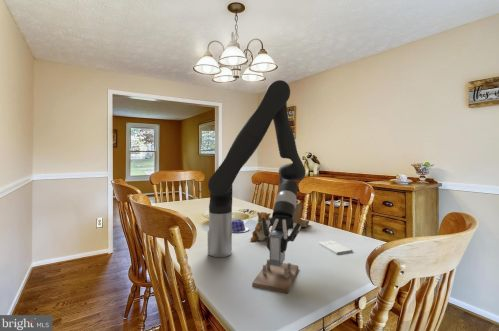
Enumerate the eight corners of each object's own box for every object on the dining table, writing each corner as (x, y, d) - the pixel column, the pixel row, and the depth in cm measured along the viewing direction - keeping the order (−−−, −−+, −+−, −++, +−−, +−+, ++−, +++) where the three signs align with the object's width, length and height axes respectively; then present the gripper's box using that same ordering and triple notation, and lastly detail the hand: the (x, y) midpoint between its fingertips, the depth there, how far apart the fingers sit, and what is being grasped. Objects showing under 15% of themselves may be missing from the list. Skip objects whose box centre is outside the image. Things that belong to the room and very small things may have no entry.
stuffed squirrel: (249, 242, 115) (249, 214, 115) (255, 232, 129) (255, 207, 129) (271, 244, 113) (271, 215, 113) (274, 234, 127) (275, 208, 126)
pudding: (240, 225, 143) (240, 216, 142) (253, 231, 133) (253, 221, 133) (222, 229, 136) (222, 219, 135) (234, 235, 126) (234, 225, 126)
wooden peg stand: (268, 263, 93) (268, 252, 93) (298, 268, 89) (298, 257, 89) (252, 286, 77) (252, 272, 77) (287, 293, 73) (287, 279, 73)
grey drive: (274, 257, 87) (274, 228, 86) (284, 259, 85) (285, 230, 85) (269, 264, 81) (269, 234, 80) (280, 266, 80) (280, 235, 79)
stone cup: (280, 228, 137) (280, 201, 136) (282, 222, 148) (283, 197, 148) (308, 230, 133) (309, 202, 132) (309, 224, 145) (309, 198, 144)
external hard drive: (336, 256, 102) (318, 245, 114) (352, 253, 105) (333, 243, 116) (336, 252, 102) (318, 241, 114) (352, 249, 105) (333, 239, 116)
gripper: (264, 198, 92) (252, 242, 81) (303, 201, 86) (296, 248, 76) (268, 210, 97) (257, 252, 86) (305, 213, 92) (299, 259, 81)
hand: (276, 250), depth 81 cm, fingers closed on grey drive, 3 cm apart
